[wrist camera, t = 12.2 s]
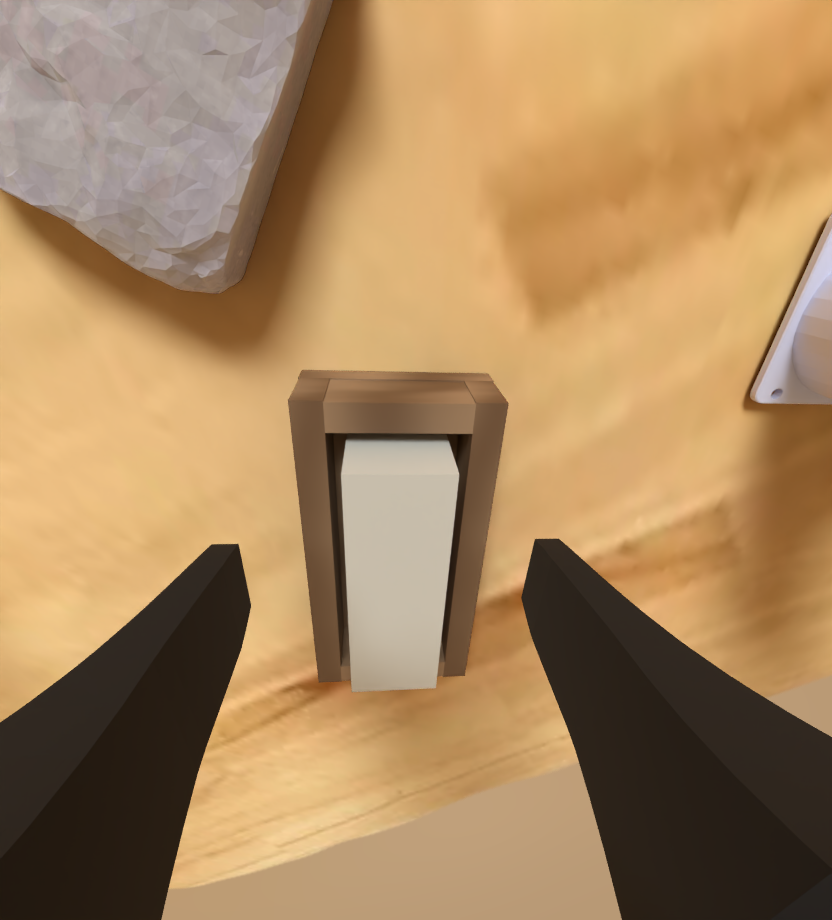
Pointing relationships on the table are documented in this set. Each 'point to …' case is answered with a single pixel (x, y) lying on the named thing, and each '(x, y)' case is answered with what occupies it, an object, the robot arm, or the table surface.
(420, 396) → the shallow brown tray
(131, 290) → the table surface
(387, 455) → the rectangular block
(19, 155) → the stone block
